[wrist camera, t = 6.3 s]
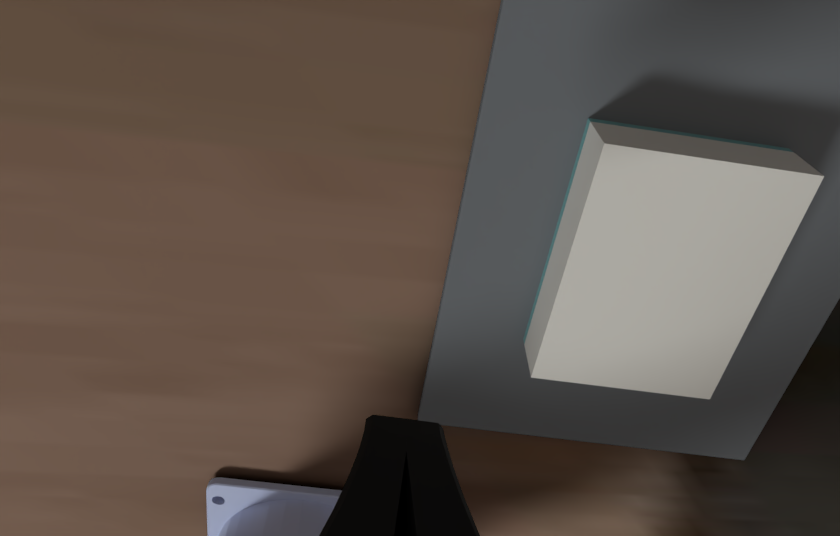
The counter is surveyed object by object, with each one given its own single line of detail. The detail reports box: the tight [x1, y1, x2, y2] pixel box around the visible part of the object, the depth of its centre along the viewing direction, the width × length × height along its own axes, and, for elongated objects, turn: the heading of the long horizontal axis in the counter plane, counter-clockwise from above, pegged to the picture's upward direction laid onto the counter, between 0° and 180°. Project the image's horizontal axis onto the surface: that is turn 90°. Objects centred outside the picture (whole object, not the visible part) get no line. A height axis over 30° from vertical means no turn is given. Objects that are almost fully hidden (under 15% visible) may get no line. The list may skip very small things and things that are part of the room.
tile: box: [523, 118, 824, 399], centre depth 20 cm, size 8×2×6 cm
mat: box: [418, 0, 840, 460], centre depth 21 cm, size 17×13×1 cm
